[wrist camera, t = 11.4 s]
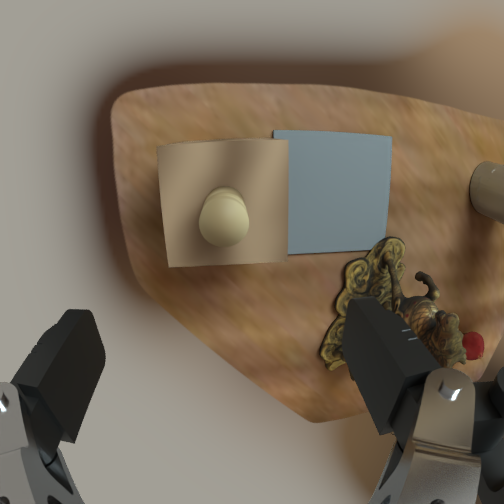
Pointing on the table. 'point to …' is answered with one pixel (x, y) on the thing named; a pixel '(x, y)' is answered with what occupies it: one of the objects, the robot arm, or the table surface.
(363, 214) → the mat
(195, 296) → the table surface
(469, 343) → the onion
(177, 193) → the cover
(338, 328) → the figurine
